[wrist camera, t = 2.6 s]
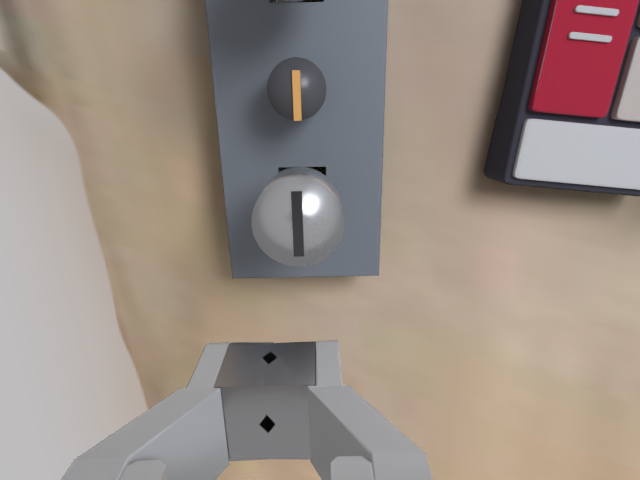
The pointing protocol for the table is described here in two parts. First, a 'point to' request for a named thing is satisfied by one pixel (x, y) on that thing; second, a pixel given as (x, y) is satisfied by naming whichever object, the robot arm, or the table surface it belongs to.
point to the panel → (307, 135)
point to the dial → (296, 88)
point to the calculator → (571, 99)
